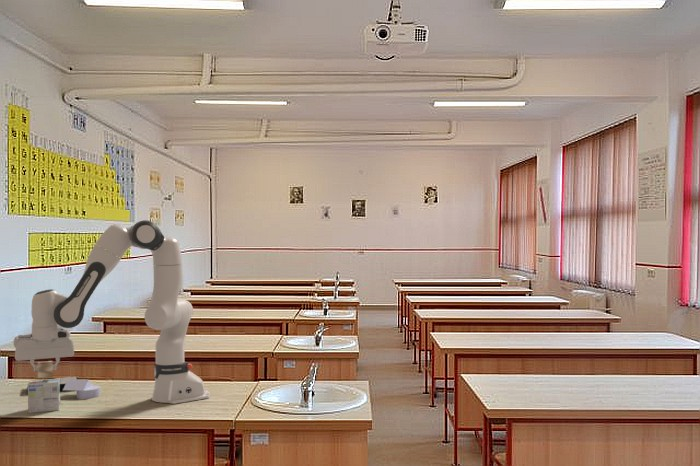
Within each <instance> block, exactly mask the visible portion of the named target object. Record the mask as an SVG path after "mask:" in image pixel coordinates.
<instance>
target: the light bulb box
mask: <svg viewBox="0 0 700 466" xmlns="http://www.w3.org/2000/svg"><path fill="white" fill-rule="evenodd" d="M57 378H58V379H53V378H47V379H48V380H43V379H36V380H37V381H32V380H29V381H30V382H29V381H28V383H29V384H28V383H27V387H28V395H27V408H28V412H27V413H28V414H32V413H34V414H35V413H43V412H53V411H59V410H60V408H61V392H60V379H59V378H60V377H57Z"/></svg>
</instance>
